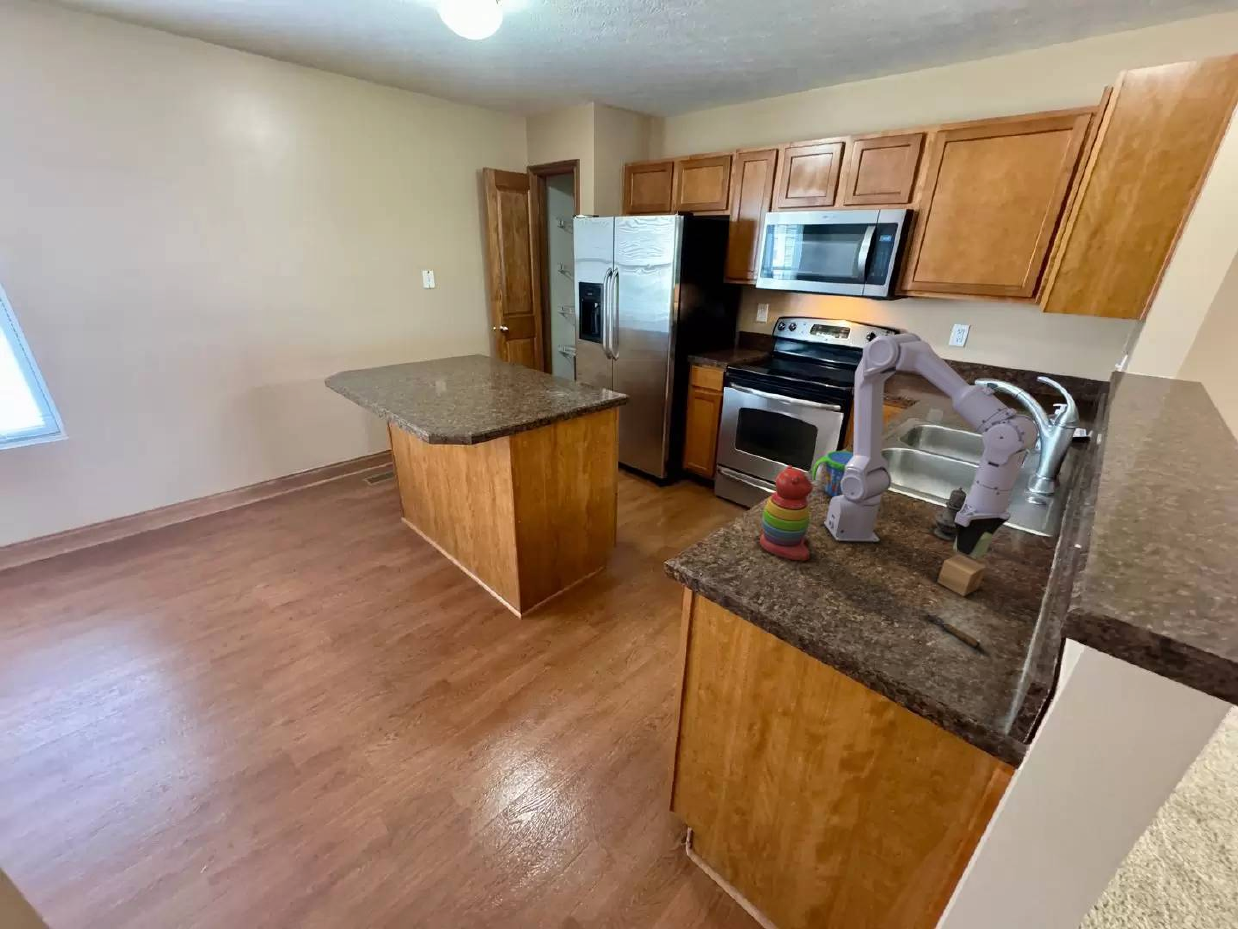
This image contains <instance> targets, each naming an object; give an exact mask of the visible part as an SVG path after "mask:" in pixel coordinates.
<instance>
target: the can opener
mask: <svg viewBox="0 0 1238 929" xmlns="http://www.w3.org/2000/svg"><path fill="white" fill-rule="evenodd" d="M926 617H927V619H928V620H931V621H933V623H935V624H937V625H939V626H943V628H944V629H945V630H946V631H948V632H950V633H951V634H953V635H955V636H957V637H958V638H959V639H961V640H962V641H964V642H965V643H966V644H969V645H970V646H972V647H974V648H976V649H978V648H979V647H980V645H981V642H980V641H978V640H977V639H975V638H974V637H972V636H970V635H969V634H967V633H965V632H963V631H962V630H959V629H957V627H955V626H953V625H951V624H949V623H945V620H943V619H942V618H941V617H939V616H937V615H935V614H933V613H930V612H927V616H926Z"/></svg>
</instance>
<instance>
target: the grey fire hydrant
mask: <svg viewBox="0 0 1238 929" xmlns="http://www.w3.org/2000/svg"><path fill="white" fill-rule="evenodd" d="M966 499H967V493H966V492H965V491H963V487H962V486H960V487H958V489H954V490H951V493H950V495H949V498H948V501H946V502H945V506H946V507H945V511H944V512H943V513H941V514H936V515H935V517H934V518H935V524H936V527H934V528H933V529H932V534H934V536H936V537H938V538H940V539H942V540H946V541H954V542H955V540H956V537H957V530H956V526H955V523H954V520H953V516H954V514H955V513H957V512H959V511H961V509H962V507H963V505H964V503H965V500H966Z"/></svg>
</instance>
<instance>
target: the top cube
mask: <svg viewBox="0 0 1238 929" xmlns="http://www.w3.org/2000/svg"><path fill="white" fill-rule="evenodd" d="M993 536H994V534H993V535H992V534H990V533H987V532H985V533H984V534H983V535H982V537H981V538H980V539H979V541H978V543H977V544H976V546H975V548H974V550H973V551H972V552H971V554H969V555H966V554H964V553H962V552H960V551H958V550H957V537H956V540H955V541H954V543H953V546H952V549H953V550H955V551H957V552H960V553H961V554H964V555H965V556H967V557H970V558H971V559H974V560H975V559H978V558H980V557H982V556H984V555H986V554H987V552H988V549H989V547H990V545H991V541H992V539H993Z"/></svg>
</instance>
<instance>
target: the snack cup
mask: <svg viewBox="0 0 1238 929" xmlns="http://www.w3.org/2000/svg"><path fill="white" fill-rule="evenodd" d="M852 457H853V452H851V451H846V450H845V451H844V450H843V451H842V450H833V451H830V452H828V453H827V454H826V455H825V456H823V457H821V458H819V459H817V461H816V462H815V463H814V465H813V468H812V471H811V472H812V480H813V481H816V480H817V479H816V475H817V473H818V472H817V471H818V469H819V466H820V465H821V464H823V463H825V464H826V466H825V468H826V470H825V489H824V491H825V493H827V494H828V495H829V496H831V497H832V498H833V497H835V496H840V495H843V493H842V490H841V480H842V478H843V476H844V473H845V466H846V465H847V463H848V462H849V461H850V459H851V458H852Z"/></svg>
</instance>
